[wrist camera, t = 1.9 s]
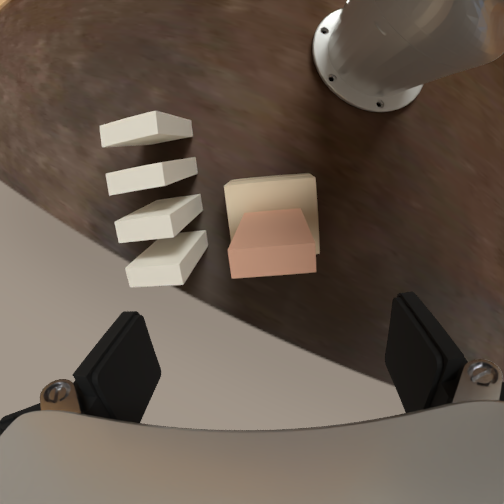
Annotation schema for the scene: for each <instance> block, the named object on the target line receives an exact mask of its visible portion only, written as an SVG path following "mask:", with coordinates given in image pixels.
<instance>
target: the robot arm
mask: <svg viewBox="0 0 504 504" xmlns="http://www.w3.org/2000/svg"><path fill="white" fill-rule="evenodd" d="M321 32H325V34H323V33H321ZM503 53H504V0H348V1H347V2H346V4H345V6H344V8H341V9H338V10H336V11H334V12H332V13H330V14H329V15H328V16H327V17H325V18H324V19H323V20H322V22H321V23H320V24H319V26H318V28H317V30H316V32H315V35H314V38H313V43H312V54H313V61H314V64H315V66H316V69H317V72H318V73H319V75H320V77H321V79H322V80H323V82H324V83H325V84H326V85H327V87H328V88H329V89H330V90H331V91H332V92H333V93H334V94H335V95H337V96H338V97H339V98H340V99H342V100H343V101H345V102H346V103H348V104H350V105H352V106H354V107H357V108H359V109H362V110H366V111H370V112H388V111H393V110H397V109H400V108H402V107H404V106H406V105H408V104H409V103H410V102H412V101H413V100H414V99H415V98H416V96H417V95H418V94H419V92H420V90H421V88H422V86H423V84H425V83H428V82H430V81H433V80H436V79H439V78H442V77H445V76H448V75H451V74H454V73H458V72H461V71H464V70H467V69H470V68H474V67H477V66H480V65H483V64H487V63H489V62H491V61H493V60H495V59H497V58H498V57H500V56H501V55H502V54H503ZM329 78H332V79H333V81H332V82H331V81H329ZM376 103H379V105H380V107H378V106H377V104H376ZM385 363H386V366H387V368H388V371H389V373H390V375H391V378H392V380H393V382H394V385H395V387H396V390H397V392H398V394H399V397H400V399H401V402H402V404H403V407H404V409H405V412H406V413H404V414H400V415H395V416H390V417H384V418H379V419H374V420H367V421H361V422H354V423H348V424H340V425H331V426H322V427H311V428H298V429H282V430H246V431H245V430H244V431H243V430H205V429H189V428H176V427H166V426H156V425H148V424H141V423H140V421H141V419H142V417H143V414H144V412H145V410H146V408H147V405H148V403H149V401H150V399H151V397H152V395H153V392H154V390H155V388H156V386H157V384H158V381H159V379H160V377H161V369H160V366H159V363H158V360H157V357H156V354H155V351H154V348H153V345H152V342H151V339H150V336H149V333H148V330H147V327H146V323H145V320H144V317H143V316H142V315H140V314H139V313H138V312H136V311H135V312H123V313H122V314H121V315H120V316H119V317H118V318H117V320H116V321H115V322H114V323H113V324H112V326H111V327H110V328H109V329H108V331H107V332H106V333H105V334H104V335H103V337H102V338H101V339H100V341H99V342H98V343H97V344H96V345H95V347H94V348H93V349H92V351H91V352H90V353H89V354H88V356H87V357H86V358H85V360H84V361H83V362H82V363H81V365H80V366H79V367H78V368H77V370H76V371H75V372H74V374H73V376H74V378H75V382H74V383H72V382H71V381H69V380H66V379H59V380H55V381H53V382H51V383H50V384H48V385H47V386H46V387H45V388H44V389H43V390H42V392H41V394H40V403H39V404H37V405H34V406H31V407H29V408H26V409H23V410H21V411H18V412H15V413H12V414H10V415H7V416H5V417H3V418H2V419H1V420H0V504H504V382H502V379H503V377H502V372H501V370H500V368H499V367H498V366H497V365H496V364H494V363H493V362H491V361H488V360H485V359H475V360H472V361H469V362H467V360H466V359H465V358H464V355H463V353H462V352H461V351H460V349H459V348H458V347H457V345H456V344H455V343H454V341H453V340H452V339H451V338H450V336H449V335H448V334H447V332H446V331H445V330H444V329H443V327H442V326H441V325H440V323H439V322H438V321H437V320H436V318H435V317H434V316H433V315H432V313H431V312H430V311H429V310H428V309H427V307H426V306H425V305H424V304H423V303H422V301H421V300H420V299H419V298H418V297H417V295H416V294H415V293H414V292H406V293H399V294H398V295H397V298H394V299H393V302H392V311H391V319H390V327H389V334H388V341H387V347H386V353H385Z"/></svg>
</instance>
